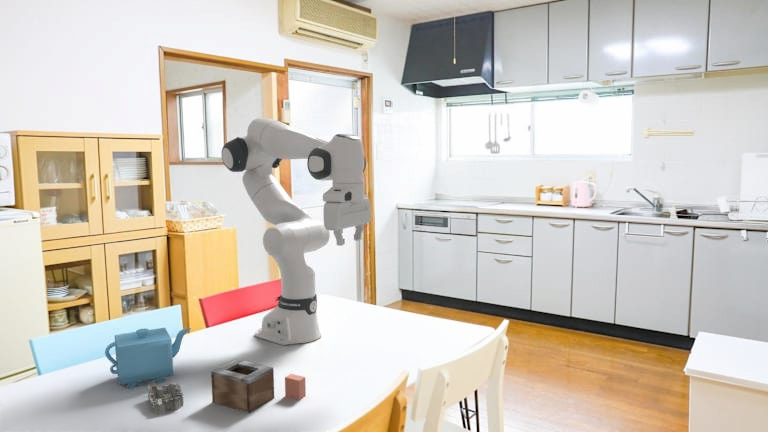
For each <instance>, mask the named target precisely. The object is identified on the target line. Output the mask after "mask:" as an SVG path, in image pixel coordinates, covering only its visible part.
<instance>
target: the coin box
mask: <svg viewBox="0 0 768 432" xmlns="http://www.w3.org/2000/svg"><path fill="white" fill-rule="evenodd" d="M274 372H275V371H274V366H273V367H272V366H268V365H264V364H260V363H256V362H251V361H246V360H243V359H239V358H237V359H234V360H232V361H229V362H227V363H226V364H223V365H221V366H219V367H217V368H215V369H212V370H211V373H210V374H211V375H210V376H211V396H212V400H211V401H212V402H211V403H215V404H217V405H220V406H225V407H227V408H231V409H235V410H239V411H242V412H245V413H249V414H250V413H253V412H254V411H255V410H257V409H258V408H260V407H261V406H264V405H265V404H267V403H268V402H271V401H272V400H273V399H275V377H274V376H275V375H274Z"/></svg>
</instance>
